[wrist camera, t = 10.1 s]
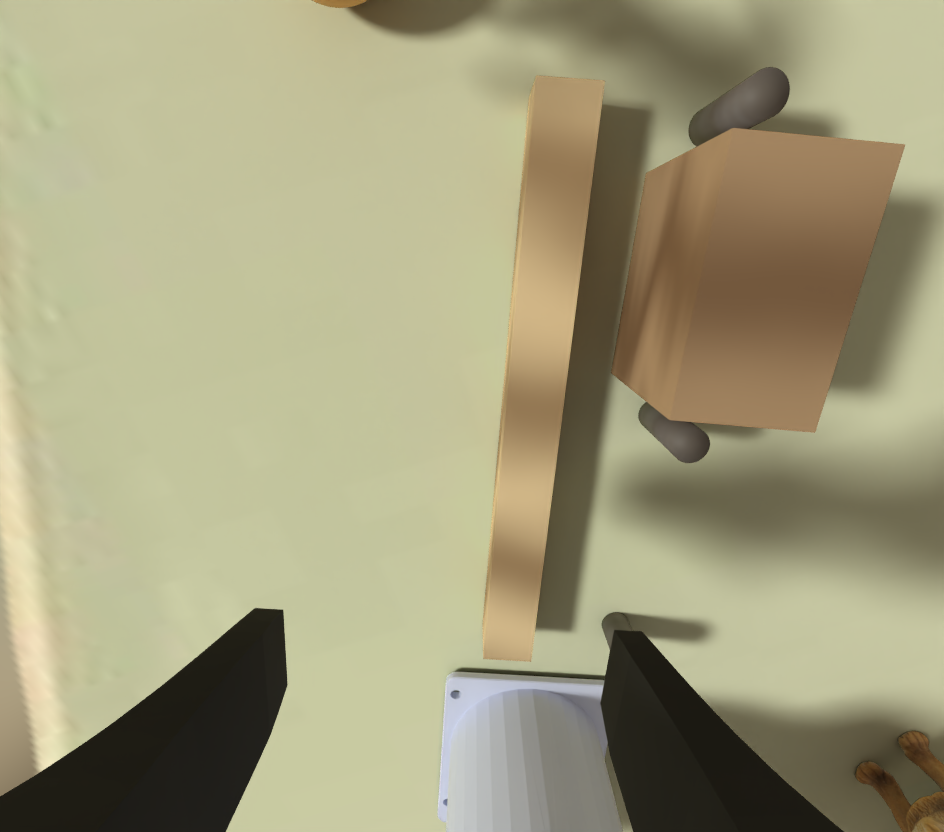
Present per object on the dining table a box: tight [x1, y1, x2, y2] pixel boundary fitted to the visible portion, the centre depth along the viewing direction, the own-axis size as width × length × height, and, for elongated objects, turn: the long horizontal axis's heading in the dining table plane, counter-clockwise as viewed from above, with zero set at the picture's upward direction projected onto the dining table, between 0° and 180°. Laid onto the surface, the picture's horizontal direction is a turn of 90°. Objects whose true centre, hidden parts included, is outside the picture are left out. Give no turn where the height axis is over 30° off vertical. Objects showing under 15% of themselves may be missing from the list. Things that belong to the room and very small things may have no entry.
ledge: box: [483, 67, 790, 662], centre depth 18 cm, size 21×7×4 cm, turn 176°
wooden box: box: [611, 128, 905, 432], centre depth 15 cm, size 7×4×6 cm, turn 175°
